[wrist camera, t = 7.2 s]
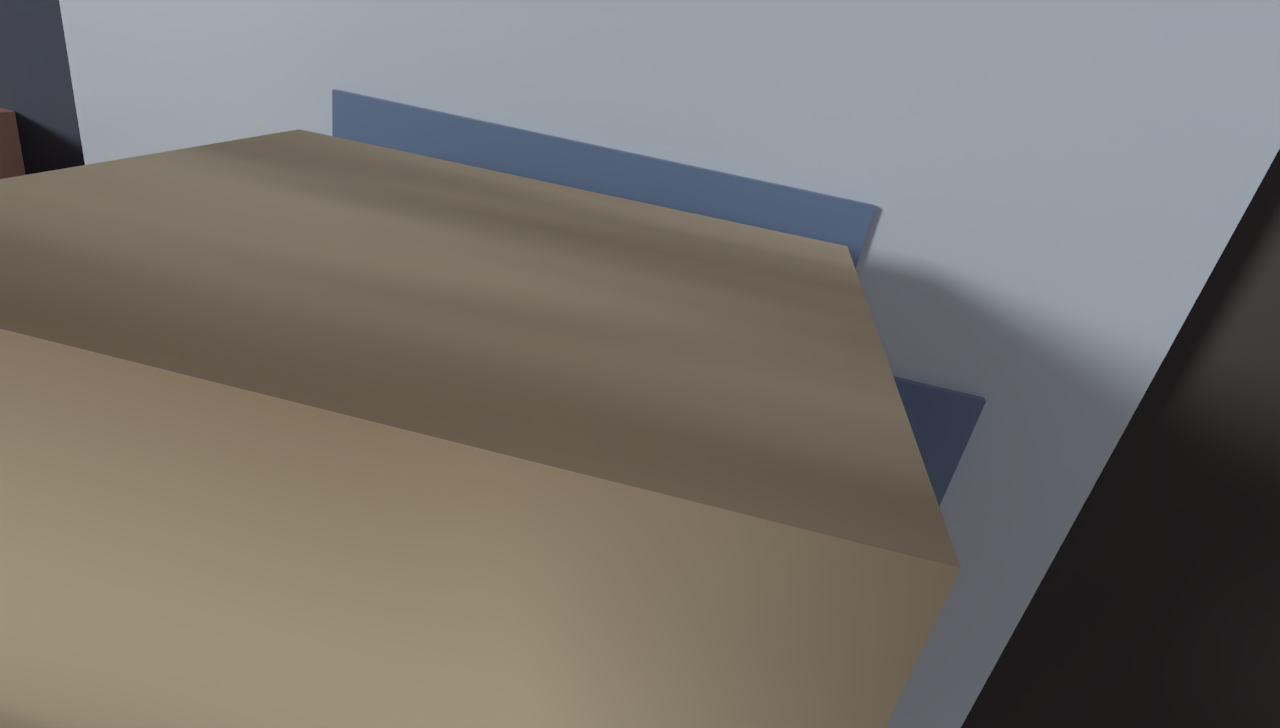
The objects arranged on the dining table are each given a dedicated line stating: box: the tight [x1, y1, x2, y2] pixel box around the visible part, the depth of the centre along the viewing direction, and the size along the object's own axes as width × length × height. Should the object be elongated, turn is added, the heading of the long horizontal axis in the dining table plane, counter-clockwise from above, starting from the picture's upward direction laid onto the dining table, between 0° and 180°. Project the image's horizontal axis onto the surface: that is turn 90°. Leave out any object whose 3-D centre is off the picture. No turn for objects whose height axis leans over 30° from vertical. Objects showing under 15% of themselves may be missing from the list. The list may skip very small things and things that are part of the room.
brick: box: [0, 129, 961, 728], centre depth 7 cm, size 10×6×5 cm, turn 170°
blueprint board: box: [59, 0, 1280, 728], centre depth 11 cm, size 16×14×1 cm
